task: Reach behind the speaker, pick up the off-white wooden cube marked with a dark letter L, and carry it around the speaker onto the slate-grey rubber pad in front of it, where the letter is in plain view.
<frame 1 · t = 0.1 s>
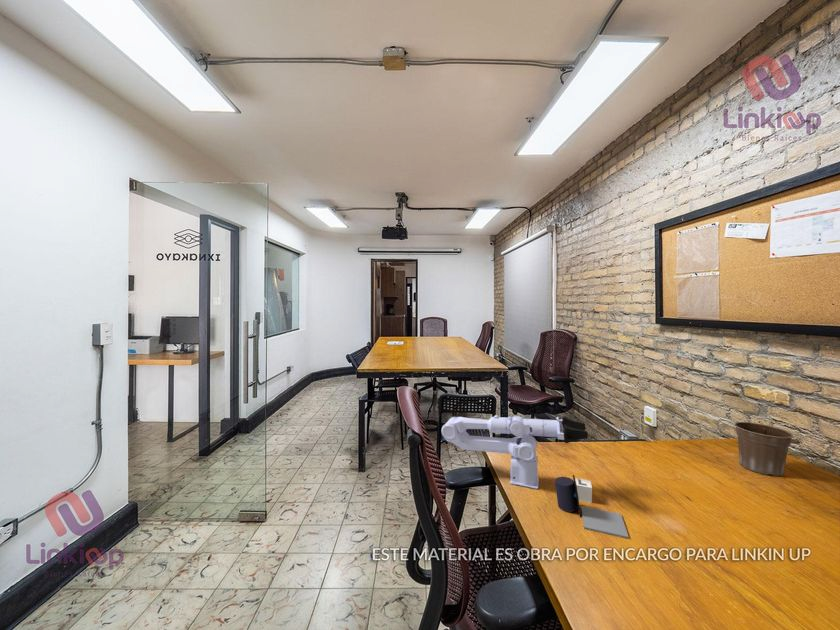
hand: (586, 430, 112), 22 cm above the table, tool horizontal, fingers open, 7 cm apart
plant pot: (761, 469, 130), on the table
letter cube: (582, 497, 110), on the table
speaker: (567, 509, 104), on the table
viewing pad: (603, 521, 97), on the table
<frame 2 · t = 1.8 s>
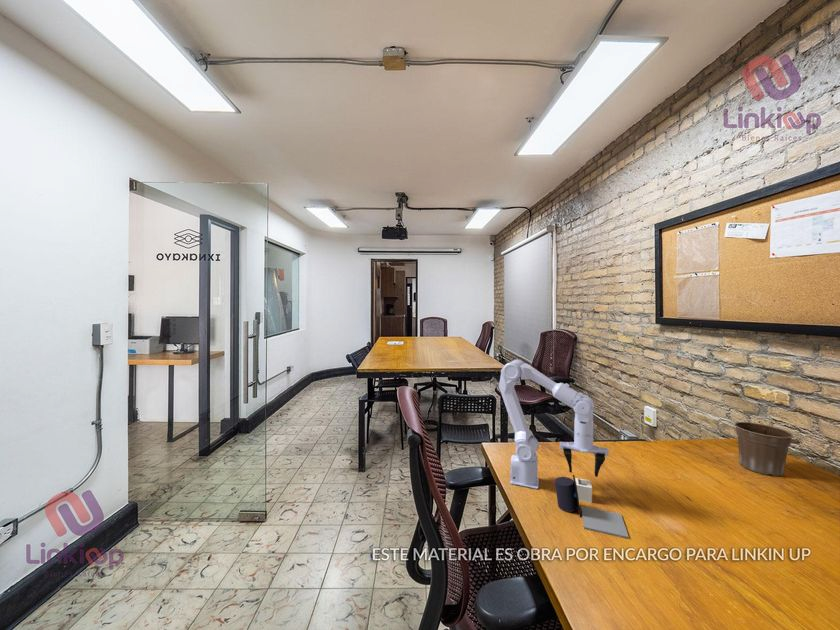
hand: (583, 473, 110), 8 cm above the table, tool pointing down, fingers open, 7 cm apart
nothing on the table moved.
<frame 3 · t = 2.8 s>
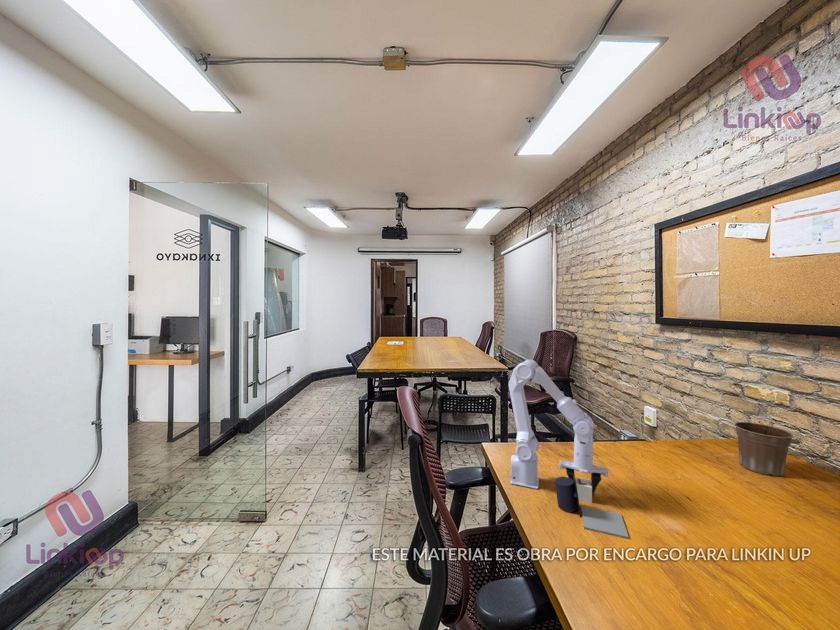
hand: (582, 492, 110), 1 cm above the table, tool pointing down, fingers closed on letter cube, 5 cm apart
letter cube: (582, 497, 110), on the table, touching gripper
everything else where it was.
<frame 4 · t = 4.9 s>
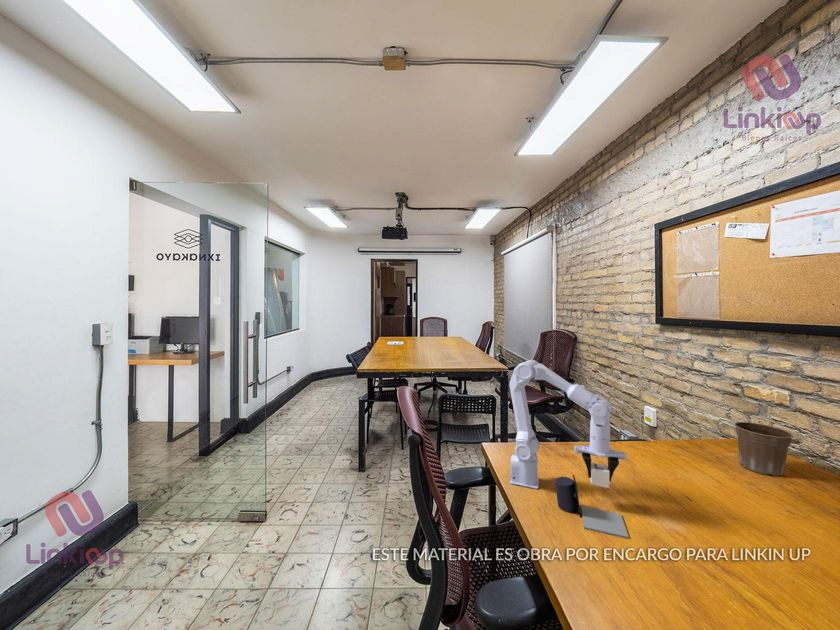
hand: (599, 478, 106), 8 cm above the table, tool pointing down, fingers closed on letter cube, 5 cm apart
letter cube: (599, 482, 106), point 7 cm above the table, touching gripper
everything else where it was.
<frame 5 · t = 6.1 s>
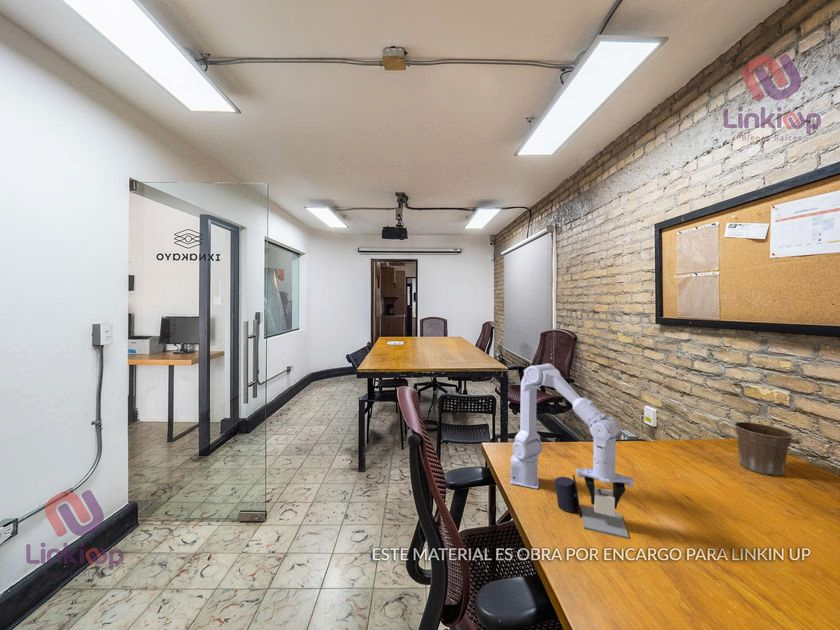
hand: (603, 504, 97), 5 cm above the table, tool pointing down, fingers closed on letter cube, 5 cm apart
letter cube: (603, 509, 97), point 4 cm above the table, touching gripper
everything else where it was.
when the fingers open (3 cm above the table, at t = 7.0 s): letter cube stays where it is, resting on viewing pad.
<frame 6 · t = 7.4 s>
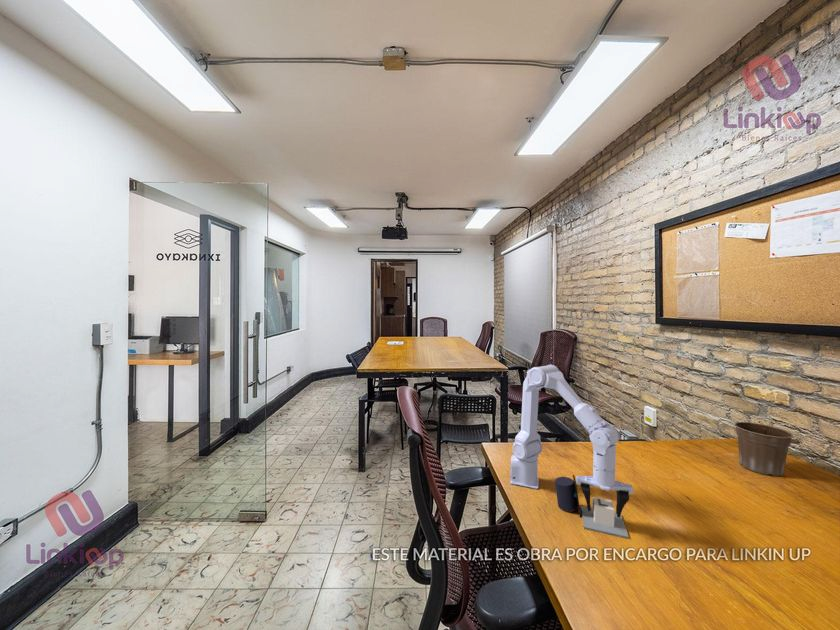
hand: (603, 512, 97), 3 cm above the table, tool pointing down, fingers open, 7 cm apart
letter cube: (602, 519, 97), resting on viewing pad
everything else where it was.
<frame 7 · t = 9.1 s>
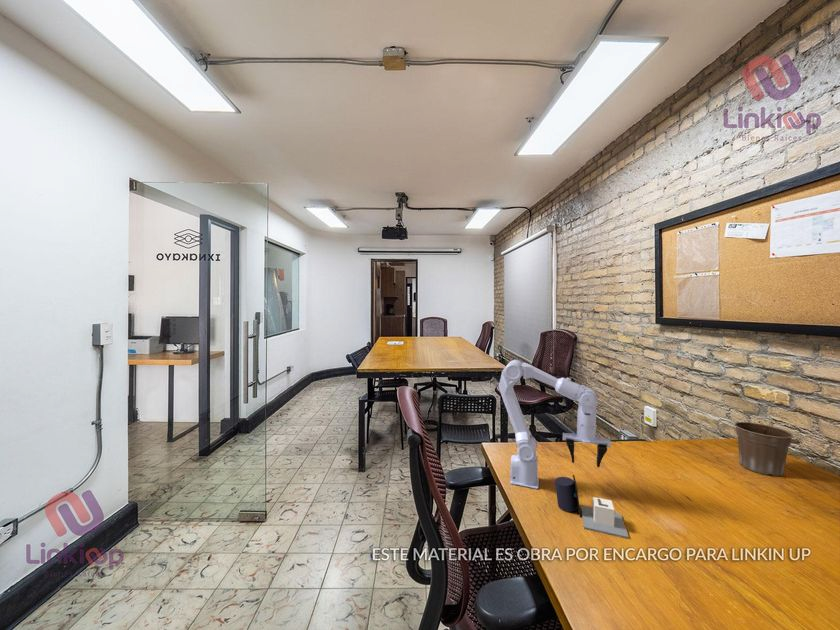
hand: (585, 463, 112), 10 cm above the table, tool pointing down, fingers open, 7 cm apart
nothing on the table moved.
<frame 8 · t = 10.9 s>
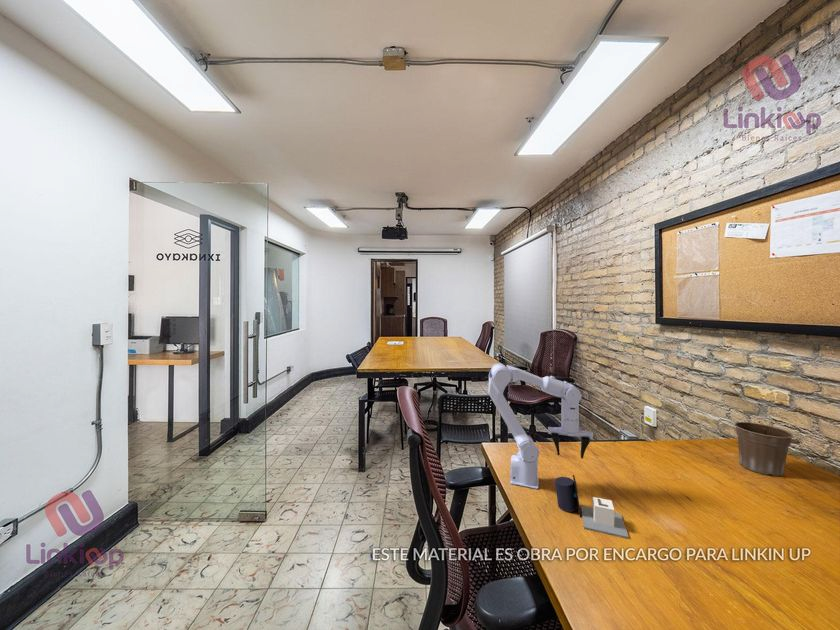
hand: (570, 455, 118), 10 cm above the table, tool pointing down, fingers open, 7 cm apart
nothing on the table moved.
at the end: letter cube 0.2 cm off-centre on the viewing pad, point 0.5 cm above the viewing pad's base; letter cube tilted 0°; speaker moved 0.2 cm from its start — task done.
